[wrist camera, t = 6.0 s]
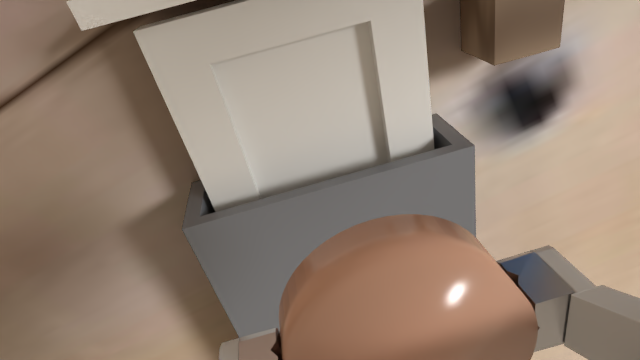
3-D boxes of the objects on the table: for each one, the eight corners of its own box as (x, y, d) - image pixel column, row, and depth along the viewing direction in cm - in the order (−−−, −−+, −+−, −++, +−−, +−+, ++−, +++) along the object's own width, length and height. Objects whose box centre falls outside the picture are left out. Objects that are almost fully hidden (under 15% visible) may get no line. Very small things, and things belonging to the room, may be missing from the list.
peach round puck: (248, 254, 9) (248, 321, 8) (491, 185, 9) (545, 234, 8) (308, 398, 12) (318, 470, 11) (492, 344, 12) (532, 405, 11)
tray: (103, -10, 21) (66, 1, 16) (420, -94, 21) (466, -105, 17) (230, 260, 31) (228, 311, 27) (441, 199, 32) (473, 239, 28)
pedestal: (459, -16, 24) (495, -10, 21) (521, -32, 24) (567, -29, 21) (461, 50, 26) (494, 65, 23) (518, 34, 26) (560, 47, 23)
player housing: (191, 182, 28) (181, 229, 23) (436, 113, 28) (474, 145, 24) (272, 352, 38) (276, 407, 34) (449, 299, 39) (477, 346, 34)
